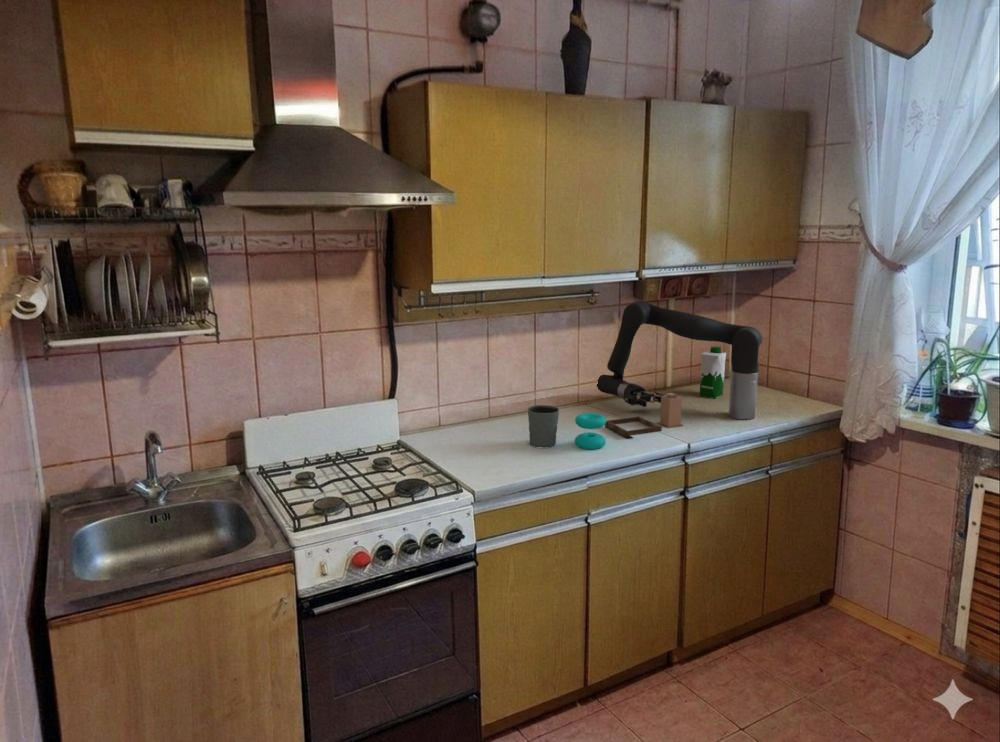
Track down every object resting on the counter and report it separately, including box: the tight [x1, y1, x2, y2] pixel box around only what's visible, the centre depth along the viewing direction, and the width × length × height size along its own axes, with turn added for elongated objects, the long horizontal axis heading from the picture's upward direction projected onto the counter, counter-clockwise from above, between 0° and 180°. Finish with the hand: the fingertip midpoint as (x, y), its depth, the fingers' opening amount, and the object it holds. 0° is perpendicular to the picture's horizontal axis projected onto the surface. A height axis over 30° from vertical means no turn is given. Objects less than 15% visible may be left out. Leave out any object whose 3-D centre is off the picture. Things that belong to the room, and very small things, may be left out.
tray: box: [604, 416, 663, 440], centre depth 242 cm, size 14×14×2 cm
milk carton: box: [699, 346, 727, 399], centre depth 285 cm, size 9×9×20 cm
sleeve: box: [659, 394, 683, 427], centre depth 245 cm, size 5×5×10 cm
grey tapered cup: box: [527, 404, 560, 448], centre depth 228 cm, size 10×10×12 cm
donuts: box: [574, 412, 607, 450], centre depth 226 cm, size 10×10×10 cm
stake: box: [656, 392, 685, 429], centre depth 245 cm, size 7×7×12 cm
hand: (655, 403), depth 253 cm, fingers open, 8 cm apart
